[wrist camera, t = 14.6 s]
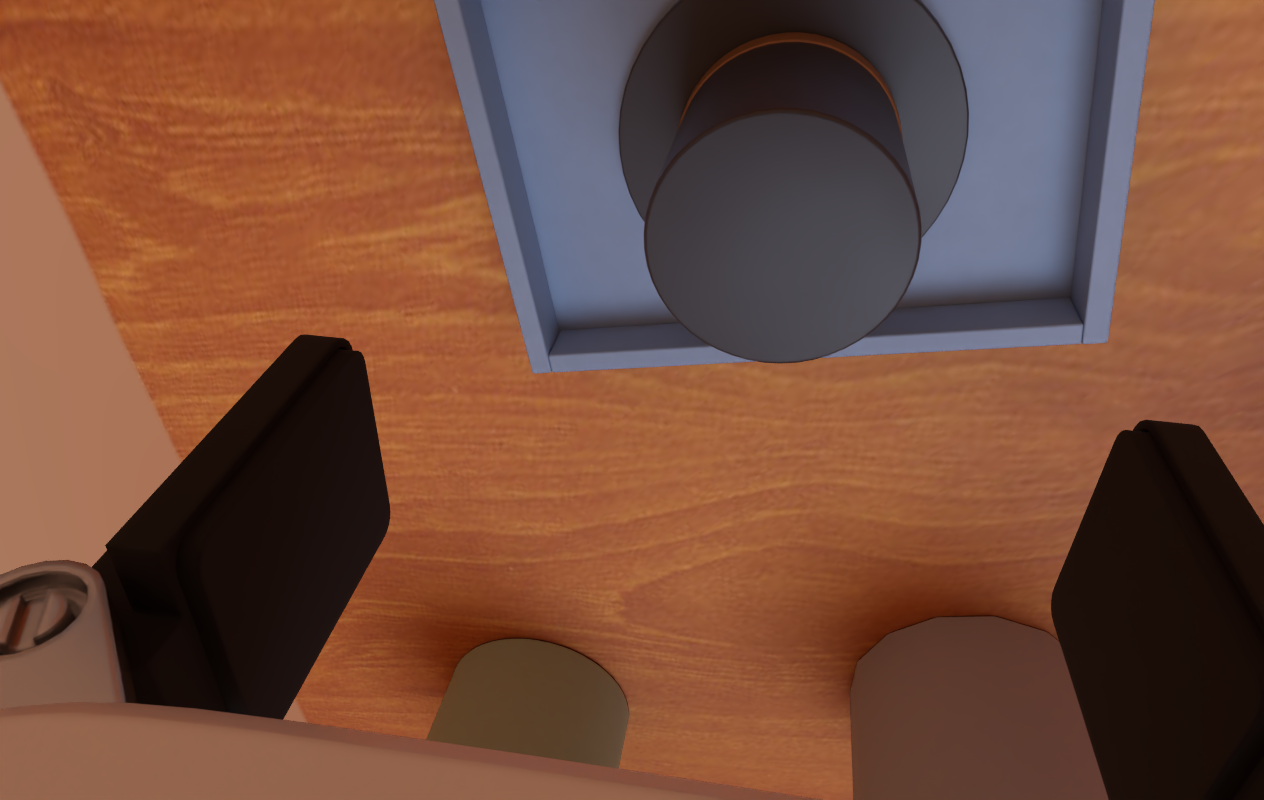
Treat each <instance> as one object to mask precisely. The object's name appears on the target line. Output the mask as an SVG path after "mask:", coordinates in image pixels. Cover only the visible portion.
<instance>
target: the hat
mask: <svg viewBox="0 0 1264 800" xmlns="http://www.w3.org/2000/svg"><path fill="white" fill-rule="evenodd" d="M968 131H969V107H968V98H967V89H966V85H965V81H964V77H963V73H962V69H961V66H960V63H959V61H958V59H957V56H956V54H955V51H954V49H953V47H952V44H951V42H950V40H949V39H948V37H947V35H946V34H945V32H944V30H943V29H942V27H941V26H940V24H939V22H938V21H937V19H936V18H935V17H934V15H933V14H932V13H931V12H930V11H929V9H928V8H927V7H926V6H925V5H924V4H923V2H922V1H921V0H679V1H678V2H677V3H675V4H674V6H673V7H672V8H671V9H670V10H669V11H668V12H667V13H666V15H665V16H664V17H663V18H662V19H661V20H660V21H659V23H658V24H657V26H656V27H655V28H654V30H653V31H652V33H651V34H650V36H649V37H648V39H647V40H646V42H645V43H644V45H643V46H642V48H641V50H640V52H639V54H638V56H637V58H636V60H635V62H634V64H633V66H632V69H631V72H630V74H629V77H628V80H627V83H626V86H625V89H624V94H623V99H622V103H621V108H620V118H619V130H618V133H619V153H620V159H621V164H622V170H623V175H624V178H625V181H626V184H627V187H628V190H629V194H630V196H631V198H632V200H633V202H634V204H635V207H636V209H637V211H638V213H639V215H640V216H641V218H642V219H643V221H644V222H645V224H644V252H645V258H646V263H647V267H648V271H649V274H650V277H651V280H652V282H653V284H654V286H655V289H656V291H657V293H658V295H659V296H660V298H661V300H662V301H663V303H664V304H665V306H666V307H667V309H668V310H669V311H670V312H671V314H672V315H673V316H674V317H675V318H676V319H677V321H678V322H679V323H680V324H682V325H683V326H684V327H685V328H686V329H687V330H688V331H689V332H690V333H692V334H693V335H695V336H696V337H697V338H699V339H700V340H702V341H703V342H705V343H707V344H708V345H710V346H712V347H714V348H716V349H718V350H720V351H723V352H725V353H727V354H730V355H732V356H736V357H740V358H743V359H747V360H752V361H758V362H764V363H796V362H803V361H808V360H814V359H818V358H821V357H824V356H828V355H831V354H833V353H836V352H838V351H841V350H843V349H845V348H847V347H849V346H851V345H853V344H854V343H856V342H858V341H860V340H861V339H863V338H864V337H865V336H867V335H868V334H869V333H871V332H872V331H874V330H875V329H876V328H877V327H878V326H879V325H880V324H881V323H882V322H883V321H884V320H885V319H887V317H888V316H889V315H890V314H891V313H892V311H893V310H894V309H895V308H896V307H897V305H898V304H899V302H900V301H901V299H902V298H903V296H904V295H905V293H906V291H907V289H908V287H909V285H910V283H911V281H912V279H913V276H914V274H915V270H916V267H917V264H918V260H919V255H920V249H921V242H922V237H923V236H924V235H925V234H926V232H927V231H928V230H929V229H930V227H931V226H932V225H933V224H934V223H935V221H936V220H937V218H938V217H939V215H940V213H941V212H942V210H943V209H944V207H945V205H946V204H947V202H948V200H949V198H950V196H951V194H952V192H953V190H954V187H955V185H956V183H957V181H958V178H959V175H960V171H961V168H962V165H963V162H964V158H965V152H966V147H967V141H968Z"/></svg>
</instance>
